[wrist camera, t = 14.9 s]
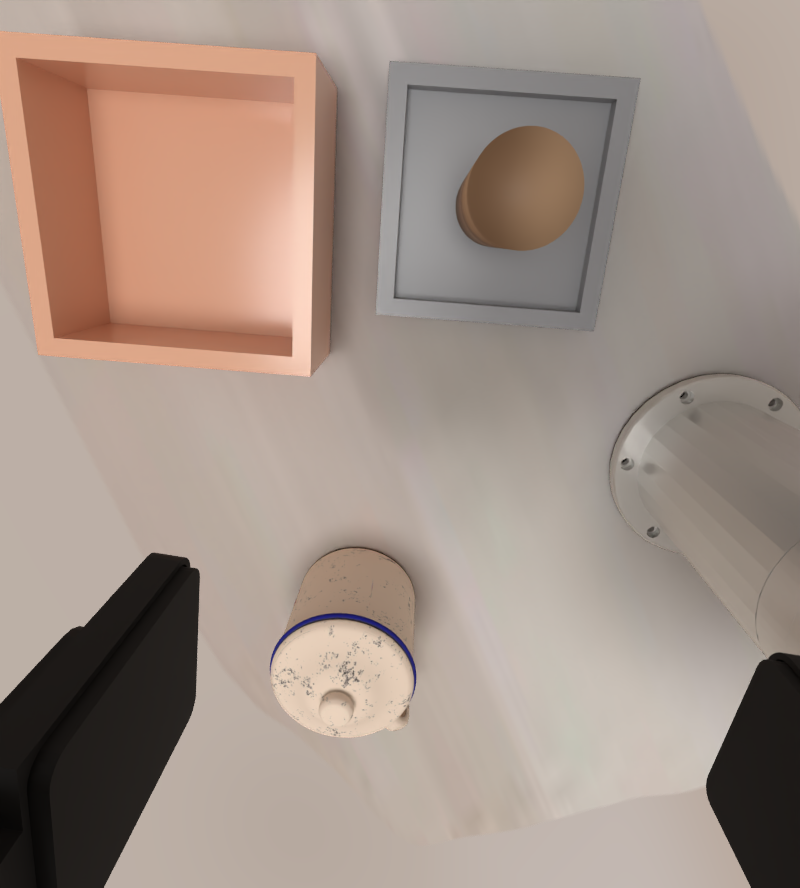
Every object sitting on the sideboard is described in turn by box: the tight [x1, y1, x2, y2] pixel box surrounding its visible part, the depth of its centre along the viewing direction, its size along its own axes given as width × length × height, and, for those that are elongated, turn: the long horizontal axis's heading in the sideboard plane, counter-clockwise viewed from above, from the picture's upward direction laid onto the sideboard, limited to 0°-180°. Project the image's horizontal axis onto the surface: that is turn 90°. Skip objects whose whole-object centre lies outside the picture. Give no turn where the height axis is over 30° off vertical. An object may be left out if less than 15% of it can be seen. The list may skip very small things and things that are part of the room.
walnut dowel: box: [455, 126, 584, 251], centre depth 28 cm, size 4×4×11 cm
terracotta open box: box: [0, 31, 337, 377], centre depth 32 cm, size 15×15×6 cm
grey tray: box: [376, 61, 641, 331], centre depth 33 cm, size 13×13×2 cm
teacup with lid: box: [270, 548, 416, 738], centre depth 38 cm, size 12×9×12 cm
